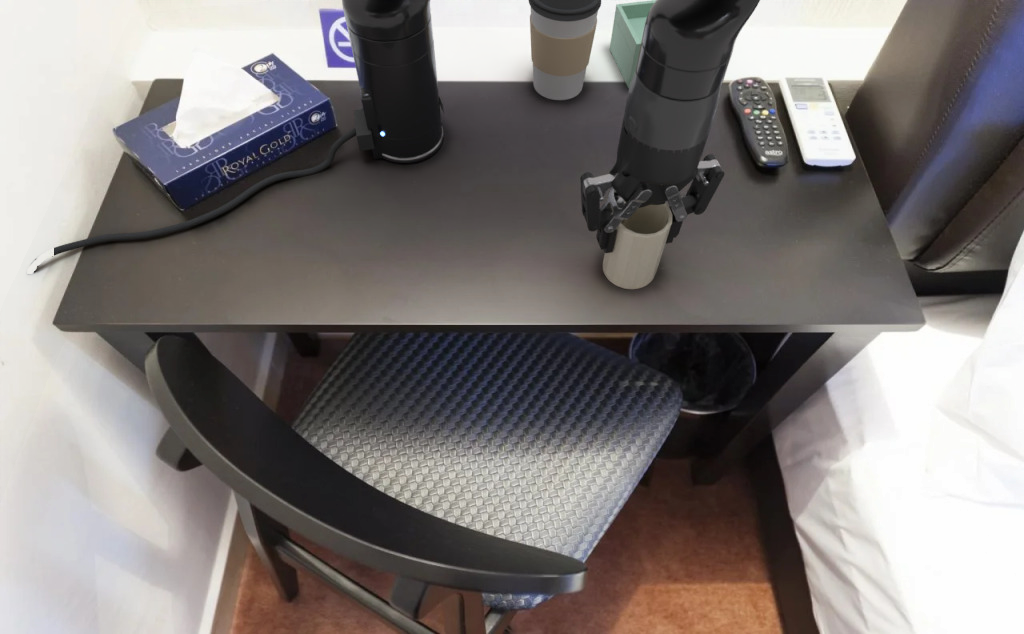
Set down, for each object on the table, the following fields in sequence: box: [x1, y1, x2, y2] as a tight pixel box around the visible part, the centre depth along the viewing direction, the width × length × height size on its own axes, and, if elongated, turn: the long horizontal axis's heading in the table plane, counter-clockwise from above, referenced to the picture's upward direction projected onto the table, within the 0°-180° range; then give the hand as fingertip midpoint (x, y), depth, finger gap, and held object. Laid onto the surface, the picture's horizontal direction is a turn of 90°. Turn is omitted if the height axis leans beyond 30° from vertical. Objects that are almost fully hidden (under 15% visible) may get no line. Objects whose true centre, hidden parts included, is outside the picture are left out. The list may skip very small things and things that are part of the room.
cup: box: [602, 202, 673, 290], centre depth 72 cm, size 6×6×9 cm
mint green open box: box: [609, 0, 656, 89], centre depth 92 cm, size 9×9×9 cm
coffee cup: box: [528, 0, 602, 101], centre depth 87 cm, size 9×9×15 cm
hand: (635, 241), depth 72 cm, fingers closed on cup, 6 cm apart
